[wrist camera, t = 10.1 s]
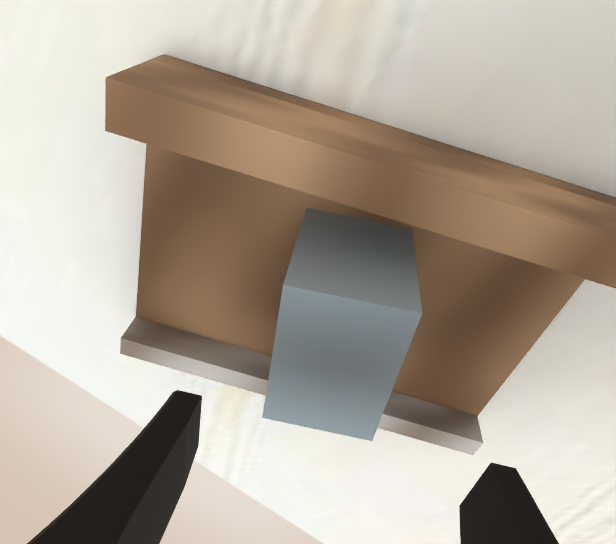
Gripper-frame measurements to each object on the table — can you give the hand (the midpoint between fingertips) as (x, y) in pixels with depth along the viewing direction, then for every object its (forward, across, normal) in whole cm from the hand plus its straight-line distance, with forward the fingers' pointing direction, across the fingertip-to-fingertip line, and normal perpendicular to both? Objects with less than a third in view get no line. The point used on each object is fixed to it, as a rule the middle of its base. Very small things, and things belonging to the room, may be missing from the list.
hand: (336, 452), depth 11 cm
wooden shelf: (+9, 0, +1) cm, 9 cm away
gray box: (+8, 0, +1) cm, 8 cm away
